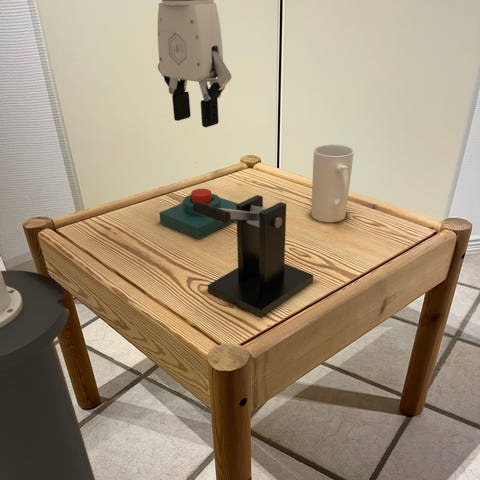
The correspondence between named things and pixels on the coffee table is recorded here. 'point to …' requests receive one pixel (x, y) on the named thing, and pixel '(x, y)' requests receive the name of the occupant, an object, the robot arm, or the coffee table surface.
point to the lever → (228, 213)
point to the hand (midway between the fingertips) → (196, 121)
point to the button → (201, 196)
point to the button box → (195, 217)
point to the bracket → (261, 263)
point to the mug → (331, 182)
